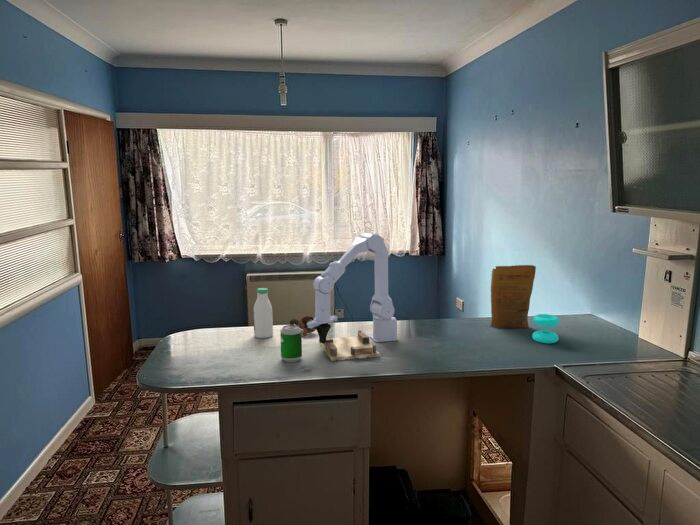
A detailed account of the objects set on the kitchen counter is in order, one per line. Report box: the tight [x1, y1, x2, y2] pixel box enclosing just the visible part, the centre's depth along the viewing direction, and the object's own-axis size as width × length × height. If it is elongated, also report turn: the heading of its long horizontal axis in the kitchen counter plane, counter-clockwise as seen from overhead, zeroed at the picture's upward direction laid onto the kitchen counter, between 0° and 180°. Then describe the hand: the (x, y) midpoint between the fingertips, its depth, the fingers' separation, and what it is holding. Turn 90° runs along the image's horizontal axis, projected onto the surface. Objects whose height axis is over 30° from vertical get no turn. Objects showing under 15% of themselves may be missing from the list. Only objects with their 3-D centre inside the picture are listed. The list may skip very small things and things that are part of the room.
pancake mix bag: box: [490, 264, 537, 330], centre depth 216 cm, size 7×19×28 cm, turn 86°
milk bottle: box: [253, 287, 274, 339], centre depth 204 cm, size 8×8×20 cm
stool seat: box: [318, 330, 381, 362], centre depth 189 cm, size 18×22×4 cm
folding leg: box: [324, 334, 333, 345], centre depth 191 cm, size 8×3×3 cm, turn 19°
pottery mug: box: [288, 315, 317, 337], centre depth 209 cm, size 12×10×8 cm
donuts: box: [531, 313, 561, 344], centre depth 199 cm, size 10×10×10 cm
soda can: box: [280, 324, 303, 363], centre depth 177 cm, size 8×8×12 cm
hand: (322, 342), depth 189 cm, fingers closed, pressing on folding leg
